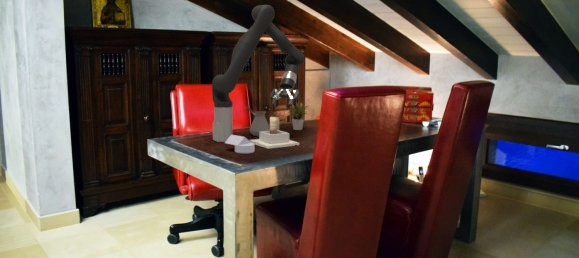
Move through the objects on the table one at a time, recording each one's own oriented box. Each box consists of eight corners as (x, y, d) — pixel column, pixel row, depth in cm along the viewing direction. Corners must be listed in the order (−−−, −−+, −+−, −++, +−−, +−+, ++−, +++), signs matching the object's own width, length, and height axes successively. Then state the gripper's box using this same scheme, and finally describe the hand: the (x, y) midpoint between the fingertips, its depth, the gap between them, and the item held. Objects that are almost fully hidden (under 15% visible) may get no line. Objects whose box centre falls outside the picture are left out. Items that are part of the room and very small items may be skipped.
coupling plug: (271, 142, 243) (271, 118, 241) (266, 141, 247) (266, 117, 245) (281, 141, 246) (282, 117, 244) (277, 140, 250) (277, 116, 248)
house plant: (310, 131, 284) (311, 103, 282) (286, 131, 285) (287, 102, 282) (310, 127, 298) (310, 100, 296) (287, 127, 299) (287, 100, 296)
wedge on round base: (224, 150, 229) (245, 154, 221) (224, 135, 228) (245, 139, 220) (237, 147, 236) (258, 151, 228) (237, 133, 235) (258, 136, 227)
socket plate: (267, 148, 234) (267, 136, 233) (249, 142, 249) (249, 131, 248) (299, 145, 244) (299, 133, 243) (279, 139, 259) (279, 128, 258)
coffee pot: (274, 135, 269) (274, 108, 267) (256, 137, 263) (257, 109, 260) (253, 130, 286) (253, 104, 284) (236, 132, 279) (236, 105, 277)
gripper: (274, 76, 262) (266, 100, 253) (300, 77, 258) (293, 101, 249) (277, 86, 268) (269, 109, 259) (302, 87, 264) (296, 110, 255)
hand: (281, 105), depth 254 cm, fingers open, 8 cm apart
